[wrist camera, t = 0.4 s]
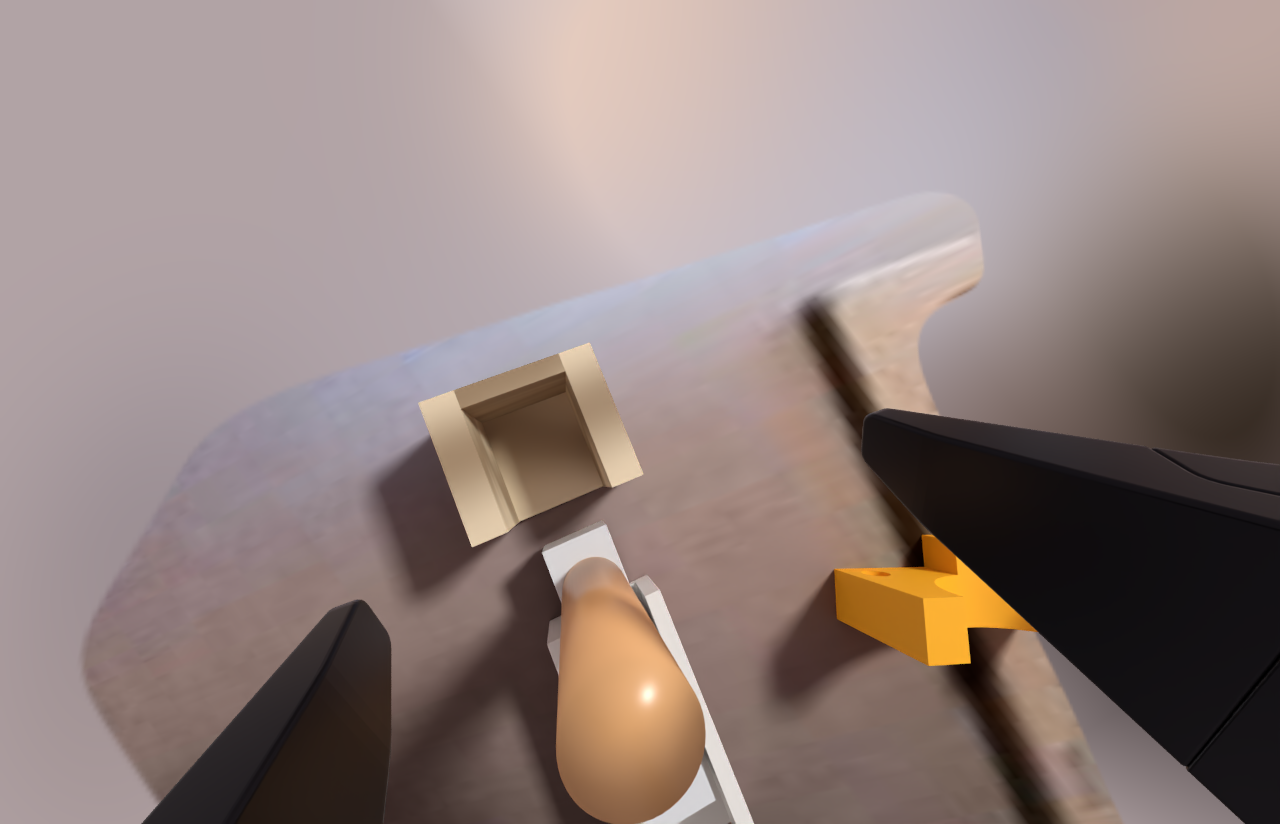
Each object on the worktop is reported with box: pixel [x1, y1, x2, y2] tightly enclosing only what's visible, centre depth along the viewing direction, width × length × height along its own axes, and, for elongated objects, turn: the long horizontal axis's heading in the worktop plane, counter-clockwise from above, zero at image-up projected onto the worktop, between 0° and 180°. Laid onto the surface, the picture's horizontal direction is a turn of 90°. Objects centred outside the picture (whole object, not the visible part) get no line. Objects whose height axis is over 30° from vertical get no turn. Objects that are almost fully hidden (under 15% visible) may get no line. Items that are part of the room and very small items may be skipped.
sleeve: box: [547, 575, 754, 824], centre depth 20 cm, size 12×5×3 cm, turn 23°
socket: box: [418, 343, 643, 547], centre depth 21 cm, size 6×7×5 cm
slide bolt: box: [542, 520, 716, 824], centre depth 15 cm, size 12×3×14 cm, turn 23°
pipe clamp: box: [834, 535, 1037, 666], centre depth 23 cm, size 12×4×6 cm, turn 89°
